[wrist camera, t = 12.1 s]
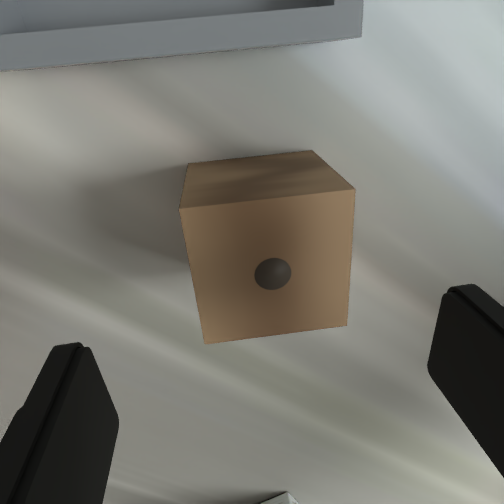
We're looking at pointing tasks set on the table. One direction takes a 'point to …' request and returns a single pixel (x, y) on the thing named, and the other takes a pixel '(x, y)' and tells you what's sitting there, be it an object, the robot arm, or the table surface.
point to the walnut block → (268, 244)
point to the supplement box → (282, 500)
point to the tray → (162, 28)
